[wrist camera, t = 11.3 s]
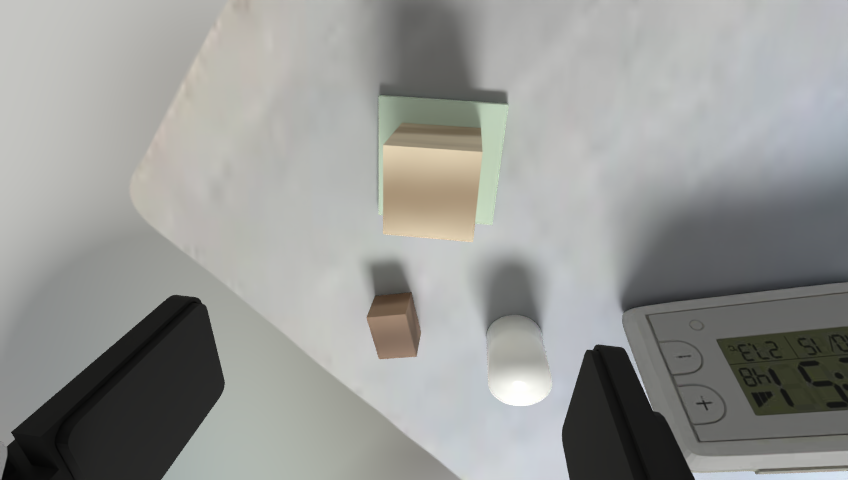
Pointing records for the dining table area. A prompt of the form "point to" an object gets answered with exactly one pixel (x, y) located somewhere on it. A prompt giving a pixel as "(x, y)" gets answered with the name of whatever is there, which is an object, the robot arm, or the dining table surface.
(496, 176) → the felt pad
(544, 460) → the dining table surface
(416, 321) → the walnut box
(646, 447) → the robot arm
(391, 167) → the beech block
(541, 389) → the white capsule
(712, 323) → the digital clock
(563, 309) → the dining table surface
